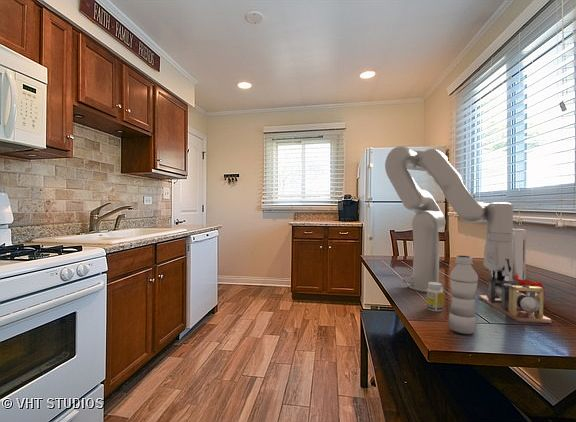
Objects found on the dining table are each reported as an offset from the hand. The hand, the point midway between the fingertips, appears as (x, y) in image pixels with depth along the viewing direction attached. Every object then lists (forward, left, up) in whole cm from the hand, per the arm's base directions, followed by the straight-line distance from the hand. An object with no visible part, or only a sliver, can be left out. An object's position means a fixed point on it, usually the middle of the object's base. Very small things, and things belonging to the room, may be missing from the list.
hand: (497, 289), depth 107 cm
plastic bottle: (-24, -31, -4) cm, 39 cm away
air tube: (0, -10, -2) cm, 10 cm away
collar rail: (0, -8, -4) cm, 9 cm away
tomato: (+11, +1, -4) cm, 12 cm away
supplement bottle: (-25, -13, -4) cm, 28 cm away
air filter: (+13, +13, -4) cm, 19 cm away
